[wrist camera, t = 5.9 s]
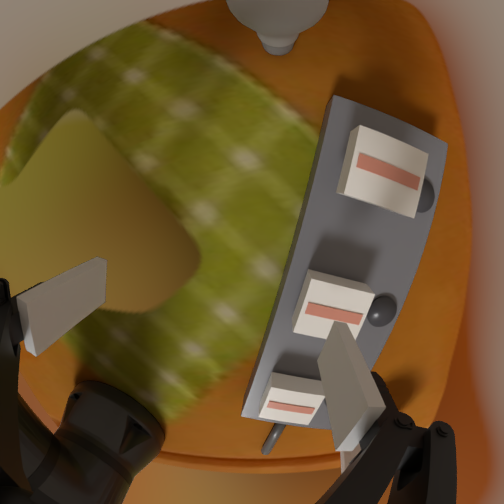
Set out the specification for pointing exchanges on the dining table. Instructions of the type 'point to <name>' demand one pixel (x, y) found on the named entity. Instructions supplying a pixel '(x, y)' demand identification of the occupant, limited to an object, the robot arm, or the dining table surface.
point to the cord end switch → (291, 399)
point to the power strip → (346, 254)
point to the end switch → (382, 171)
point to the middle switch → (330, 304)
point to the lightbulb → (278, 20)
